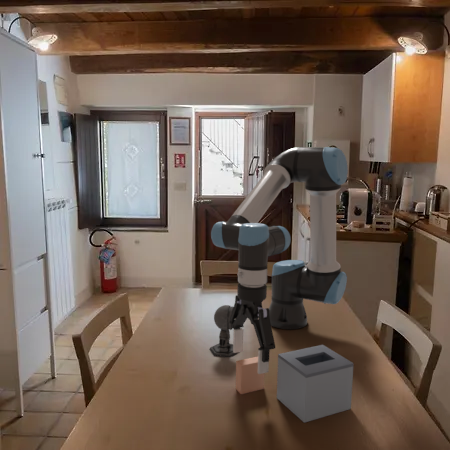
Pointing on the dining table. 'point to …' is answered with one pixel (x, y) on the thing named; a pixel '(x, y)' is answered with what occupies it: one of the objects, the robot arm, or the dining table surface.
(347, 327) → the dining table surface
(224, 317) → the figurine
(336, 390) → the coin box
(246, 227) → the robot arm
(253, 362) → the peach rectangular block
